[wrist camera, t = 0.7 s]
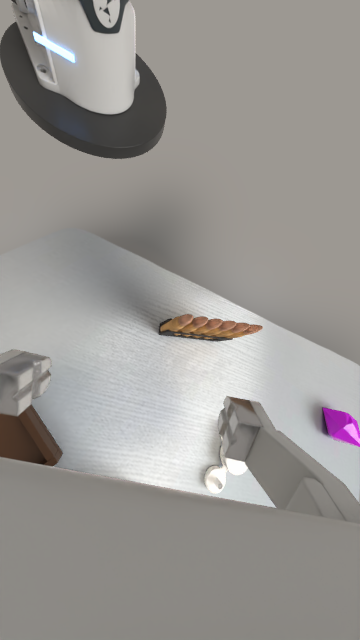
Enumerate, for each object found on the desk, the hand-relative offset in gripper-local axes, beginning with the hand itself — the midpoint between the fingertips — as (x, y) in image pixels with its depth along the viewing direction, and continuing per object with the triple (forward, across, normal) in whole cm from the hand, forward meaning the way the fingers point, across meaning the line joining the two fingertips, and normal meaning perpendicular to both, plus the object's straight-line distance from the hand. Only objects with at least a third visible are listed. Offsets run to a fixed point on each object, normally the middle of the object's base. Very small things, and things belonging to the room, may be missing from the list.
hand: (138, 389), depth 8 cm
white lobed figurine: (+16, -15, +20) cm, 30 cm away
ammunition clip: (+22, -4, +4) cm, 23 cm away
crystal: (+24, -37, +17) cm, 47 cm away
